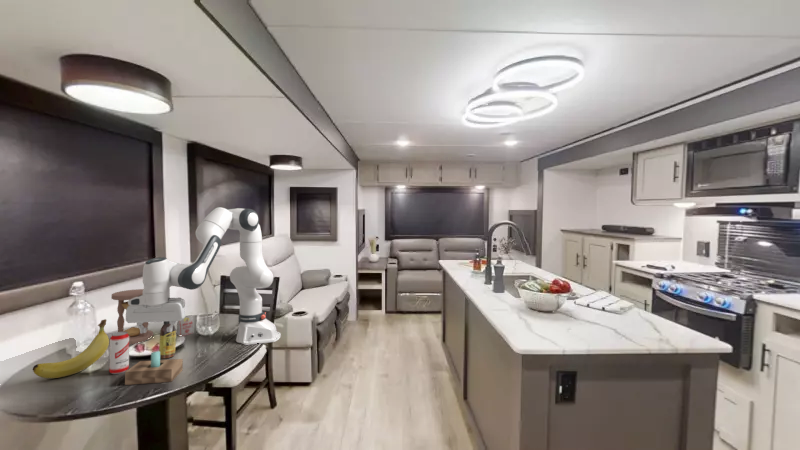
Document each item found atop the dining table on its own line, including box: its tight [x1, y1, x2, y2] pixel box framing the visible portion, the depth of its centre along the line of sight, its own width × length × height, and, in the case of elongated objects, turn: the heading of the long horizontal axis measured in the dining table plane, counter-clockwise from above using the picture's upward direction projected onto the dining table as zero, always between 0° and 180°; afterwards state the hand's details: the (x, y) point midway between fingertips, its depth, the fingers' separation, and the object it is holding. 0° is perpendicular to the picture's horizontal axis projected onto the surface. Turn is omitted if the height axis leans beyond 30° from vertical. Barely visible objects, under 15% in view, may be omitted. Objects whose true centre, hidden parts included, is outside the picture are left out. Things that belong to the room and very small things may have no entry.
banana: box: [32, 318, 110, 379], centre depth 136 cm, size 23×6×20 cm, turn 147°
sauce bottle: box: [158, 321, 177, 360], centre depth 155 cm, size 7×6×20 cm
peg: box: [150, 350, 161, 368], centre depth 134 cm, size 3×3×10 cm
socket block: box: [124, 358, 184, 386], centre depth 134 cm, size 16×10×5 cm, turn 102°
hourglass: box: [111, 288, 154, 346], centre depth 176 cm, size 18×18×25 cm
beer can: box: [108, 331, 130, 375], centre depth 139 cm, size 6×6×16 cm
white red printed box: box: [176, 314, 194, 337], centre depth 185 cm, size 4×7×10 cm, turn 148°
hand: (156, 332), depth 135 cm, fingers open, 8 cm apart
